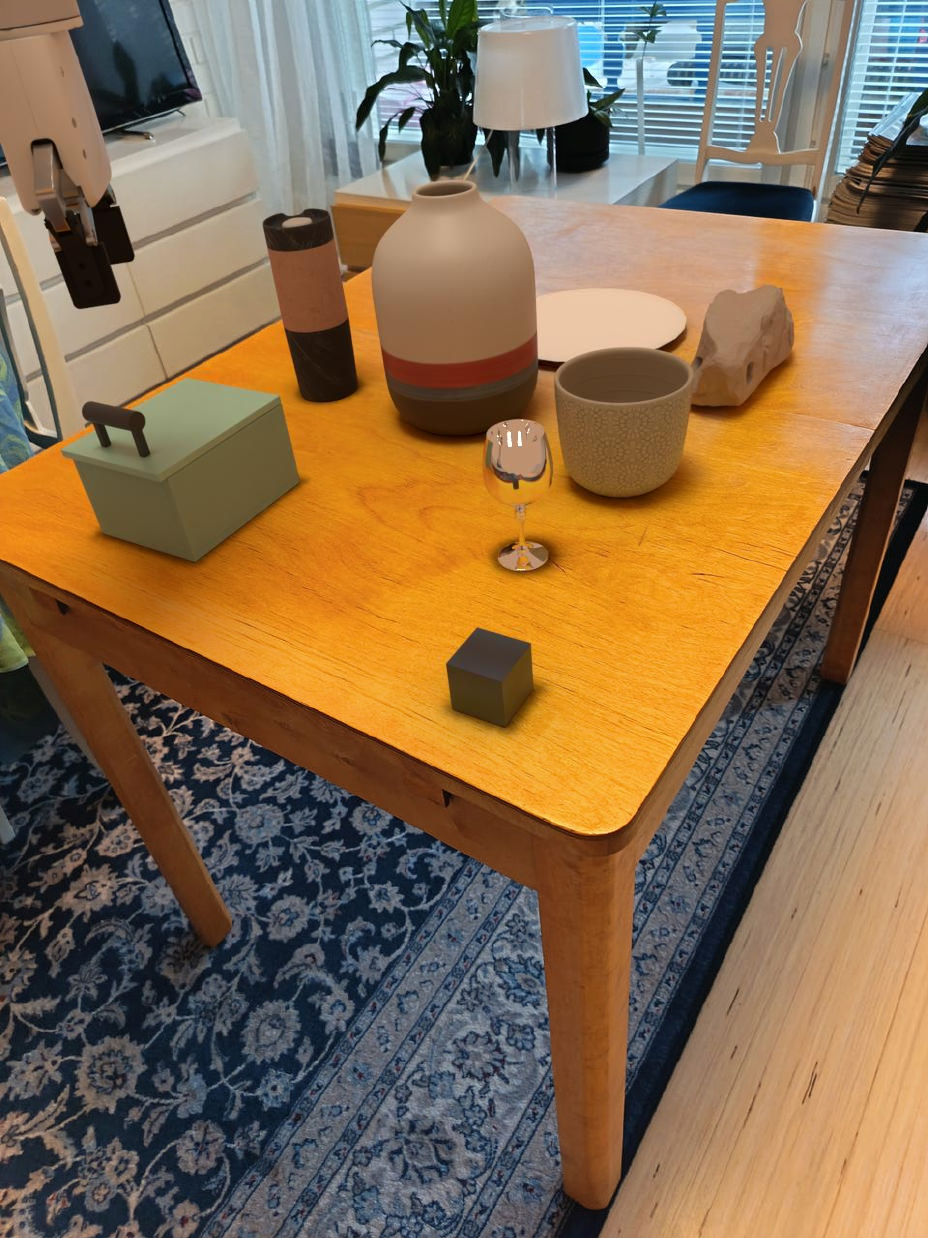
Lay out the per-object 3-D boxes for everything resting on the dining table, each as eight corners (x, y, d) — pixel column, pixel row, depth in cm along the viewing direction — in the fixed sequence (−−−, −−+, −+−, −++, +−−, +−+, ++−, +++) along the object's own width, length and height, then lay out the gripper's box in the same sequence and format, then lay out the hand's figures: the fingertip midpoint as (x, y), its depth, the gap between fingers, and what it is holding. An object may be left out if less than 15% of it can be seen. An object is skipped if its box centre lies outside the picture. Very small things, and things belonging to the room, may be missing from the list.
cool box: (195, 562, 83) (167, 478, 78) (102, 533, 89) (70, 453, 84) (300, 482, 94) (281, 403, 88) (210, 460, 99) (188, 385, 94)
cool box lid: (160, 482, 77) (142, 429, 74) (63, 457, 83) (42, 406, 80) (281, 402, 88) (270, 353, 85) (188, 384, 94) (174, 337, 91)
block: (505, 728, 63) (501, 681, 61) (451, 709, 65) (445, 663, 63) (533, 688, 66) (531, 642, 63) (481, 672, 68) (477, 626, 65)
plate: (728, 328, 115) (729, 315, 114) (582, 392, 104) (582, 378, 103) (591, 286, 131) (591, 274, 130) (453, 338, 120) (452, 325, 119)
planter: (531, 479, 90) (526, 375, 83) (623, 436, 95) (625, 335, 88) (618, 528, 81) (620, 418, 75) (713, 479, 87) (723, 371, 80)
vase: (561, 387, 106) (555, 166, 91) (506, 456, 94) (490, 215, 79) (431, 374, 112) (406, 165, 97) (365, 437, 100) (325, 210, 85)
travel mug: (334, 407, 107) (299, 230, 94) (285, 397, 110) (246, 225, 98) (372, 381, 112) (344, 209, 99) (325, 372, 115) (292, 205, 103)
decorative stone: (733, 427, 94) (743, 334, 88) (666, 413, 98) (671, 323, 92) (799, 354, 107) (812, 268, 100) (738, 345, 110) (746, 261, 104)
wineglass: (569, 552, 79) (566, 427, 72) (527, 583, 76) (519, 457, 69) (519, 531, 83) (511, 410, 75) (476, 560, 80) (464, 437, 72)
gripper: (-16, 3, 63) (73, 256, 73) (-89, 27, 49) (34, 332, 60) (93, -11, 63) (166, 242, 74) (51, 9, 50) (148, 314, 61)
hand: (107, 282), depth 67 cm, fingers open, 9 cm apart
